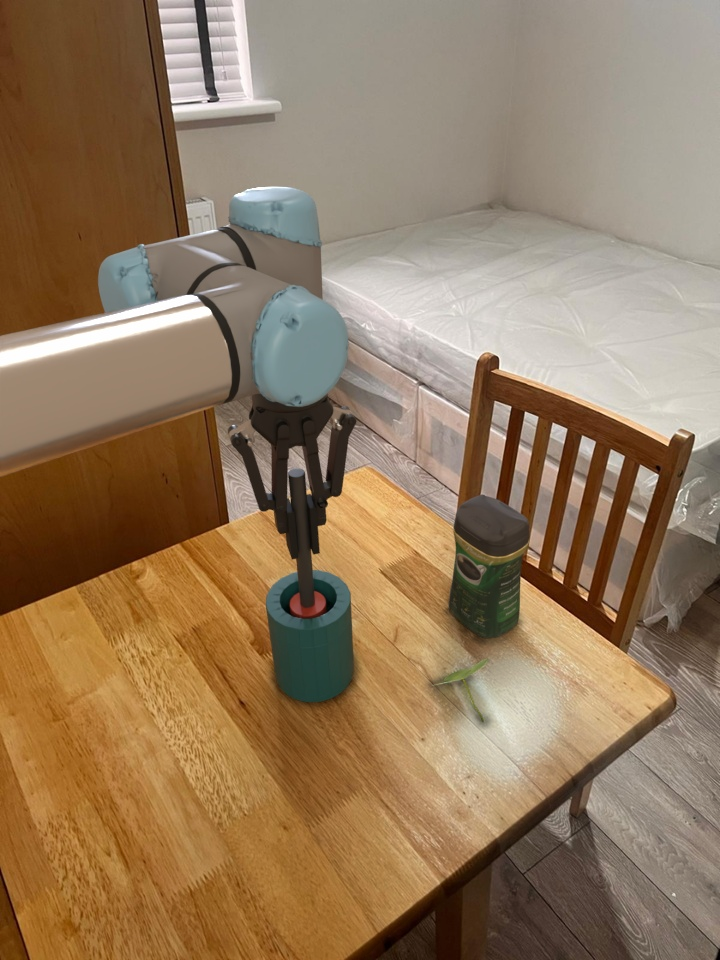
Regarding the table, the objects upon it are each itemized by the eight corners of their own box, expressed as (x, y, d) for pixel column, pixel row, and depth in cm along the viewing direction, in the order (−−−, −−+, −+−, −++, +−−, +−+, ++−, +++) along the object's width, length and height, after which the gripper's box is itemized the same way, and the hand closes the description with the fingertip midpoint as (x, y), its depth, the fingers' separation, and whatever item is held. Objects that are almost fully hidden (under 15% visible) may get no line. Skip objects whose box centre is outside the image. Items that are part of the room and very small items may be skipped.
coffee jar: (528, 622, 101) (544, 516, 91) (487, 649, 98) (499, 542, 87) (478, 584, 108) (488, 482, 97) (438, 608, 104) (444, 504, 93)
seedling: (464, 729, 93) (443, 680, 95) (518, 707, 90) (496, 656, 92) (441, 739, 87) (419, 686, 89) (498, 715, 84) (475, 661, 86)
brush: (297, 648, 89) (280, 487, 75) (289, 623, 92) (271, 465, 79) (331, 640, 90) (321, 479, 76) (322, 615, 93) (311, 458, 80)
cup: (285, 711, 90) (275, 638, 83) (268, 651, 98) (258, 580, 91) (363, 690, 93) (361, 617, 85) (341, 633, 101) (337, 562, 93)
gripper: (349, 335, 75) (355, 517, 88) (204, 356, 71) (233, 542, 85) (372, 365, 69) (375, 555, 82) (215, 390, 65) (244, 584, 79)
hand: (303, 548), depth 83 cm, fingers closed on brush, 2 cm apart
